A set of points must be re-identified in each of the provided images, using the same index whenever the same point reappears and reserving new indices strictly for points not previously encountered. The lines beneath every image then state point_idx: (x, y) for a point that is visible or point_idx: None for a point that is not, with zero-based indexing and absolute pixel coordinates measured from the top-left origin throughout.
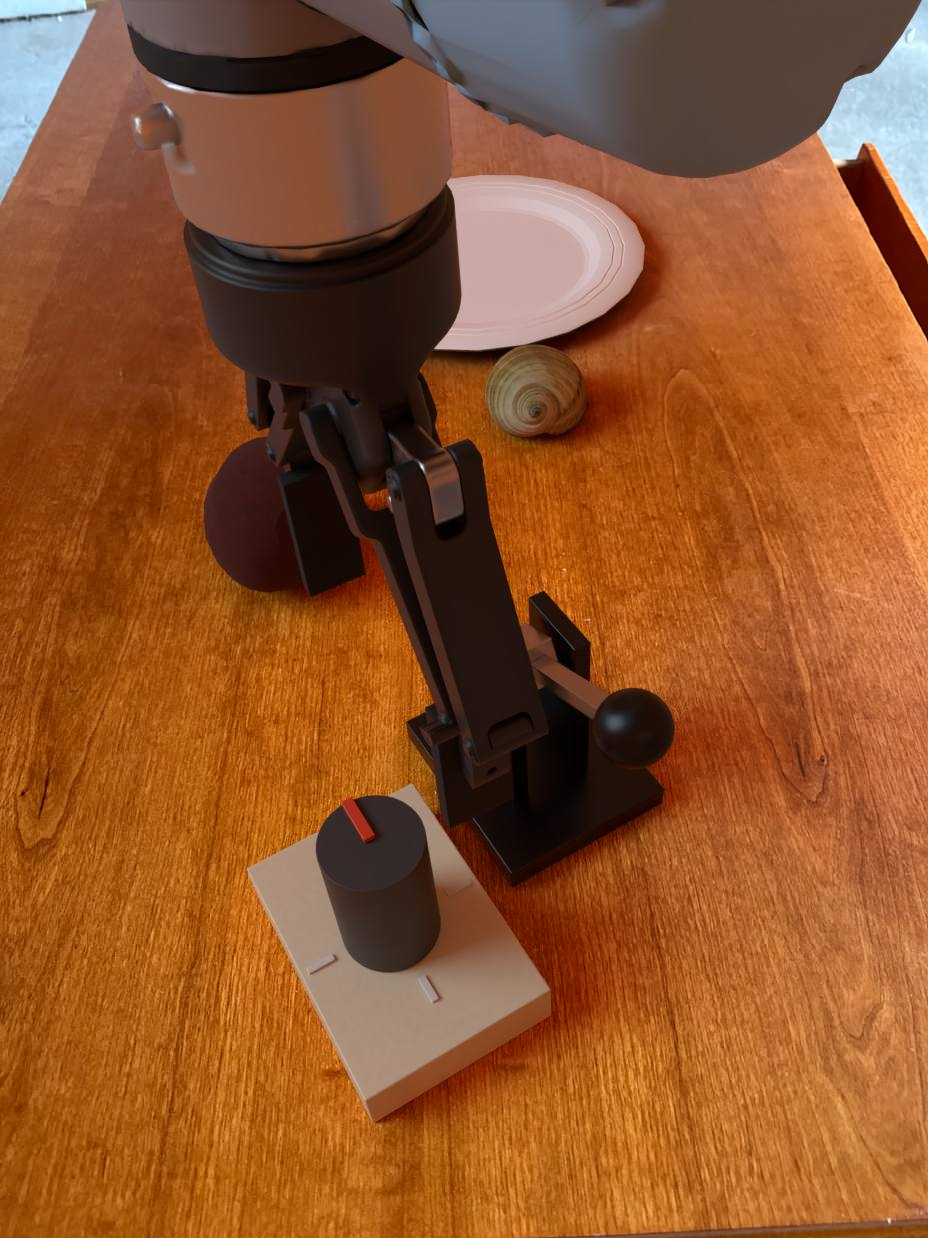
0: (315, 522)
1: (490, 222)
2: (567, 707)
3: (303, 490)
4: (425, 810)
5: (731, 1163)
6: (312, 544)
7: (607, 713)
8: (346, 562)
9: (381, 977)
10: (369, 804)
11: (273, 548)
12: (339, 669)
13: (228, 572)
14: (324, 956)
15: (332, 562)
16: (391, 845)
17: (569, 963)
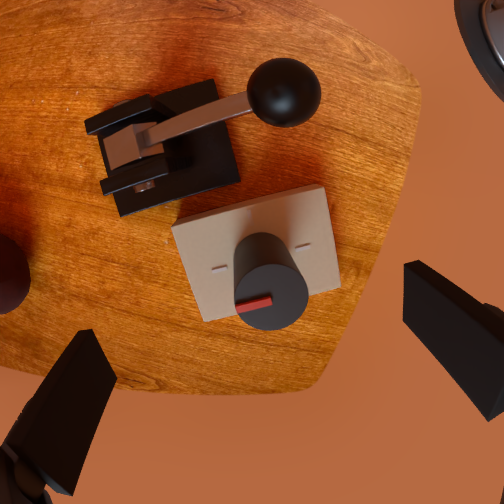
0: (76, 428)
1: None
2: (162, 121)
3: (64, 472)
4: (192, 223)
5: (395, 136)
6: (90, 414)
7: (284, 111)
8: (89, 359)
9: None
10: (242, 294)
11: (11, 283)
12: (75, 243)
13: (22, 301)
14: None
15: (93, 376)
16: (279, 287)
17: (292, 165)
